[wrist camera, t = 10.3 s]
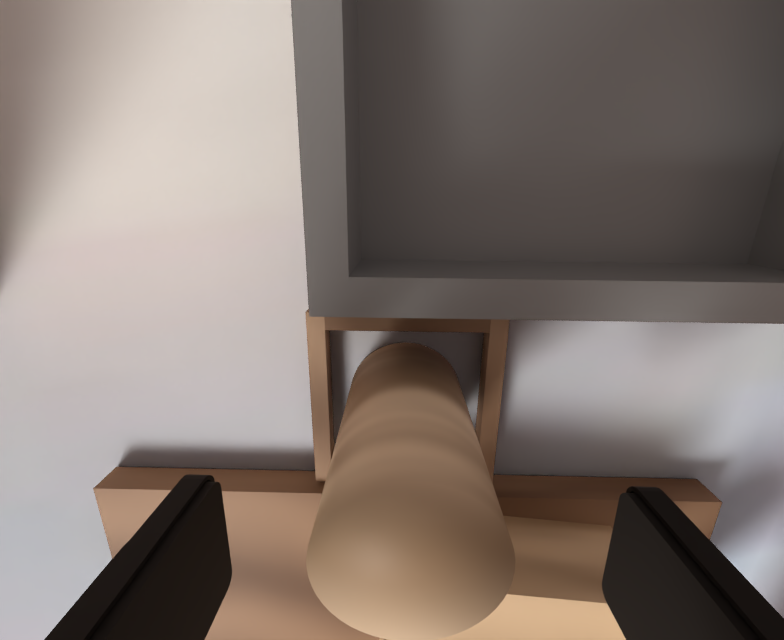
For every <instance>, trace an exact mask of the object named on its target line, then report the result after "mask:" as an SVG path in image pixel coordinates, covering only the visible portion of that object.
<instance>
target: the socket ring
mask: <svg viewBox="0 0 784 640" xmlns="http://www.w3.org/2000/svg"><path fill="white" fill-rule="evenodd" d="M509 322H510V320H501V319H434V318H366V317H309V309H308V310H307V311H306V326H307V343H308V359H309V376H310V392H311V409H312V426H313V442H314V459H315V475H316V481H326V477H327V473H328V470H329V466H330V462H331V459H332V455H333V451H334V425H333V401H332V377H331V353H330V330H350V331H416V332H481V333H484V337H483V349H482V361H481V372H480V384H479V395H478V407H477V418H476V430H475V432H476V435H477V438H478V441H479V444H480V447H481V450H482V453H483V456H484V459H485V462H486V466H487V469H488V472H489V475H490V478H491V481H493V472H494V463H495V453H496V444H497V434H498V425H499V416H500V406H501V397H502V388H503V378H504V369H505V359H506V350H507V341H508V331H509Z"/></svg>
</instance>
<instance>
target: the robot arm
mask: <svg viewBox="0 0 784 640" xmlns="http://www.w3.org/2000/svg"><path fill="white" fill-rule="evenodd" d="M231 578H232V564H231V557H230V549H229V542H228V534H227V527H226V519H225V512H224V504H223V496H222V489H221V484H220V483H219V482H215V480H214V477H213V476H212V475H195V474H187V475H184V476H183V477H182V478H181V479H180V481H179V482H178V483H177V484H176V485H175V487H174V488H173V489H172V490H171V491H170V492H169V494H168V495H167V496H166V497H165V498H164V500H163V501H162V502H161V503H160V504H159V506H158V507H157V508H156V509H155V510H154V512H153V513H152V514H151V515H150V516H149V517H148V519H147V520H146V521H145V522H144V523H143V525H142V526H141V527H140V528H139V529H138V531H137V532H136V533H135V534H134V535H133V537H132V538H131V539H130V540H129V541H128V542H127V543H126V544H125V545H124V546H123V547H122V548H121V549H120V551H119V552H118V553H117V554H116V555H115V557H114V558H113V559H112V560H111V561H110V562H109V564H108V565H107V566H106V567H105V568H104V570H103V571H102V572H101V573H100V574H99V576H98V577H97V578H96V579H95V580H94V581H93V583H92V584H91V585H90V586H89V587H88V589H87V590H86V591H85V592H84V593H83V594H82V596H81V597H80V598H79V599H78V600H77V602H76V603H75V604H74V605H73V606H72V608H71V609H70V610H69V611H68V612H67V613H66V615H65V616H64V617H63V618H62V619H61V621H60V622H59V623H58V624H57V625H56V627H55V628H54V629H53V630H52V631H51V632H50V634H49V635H48V636H47V637H46V638H45V640H205V638H206V636H207V634H208V631H209V629H210V627H211V625H212V623H213V621H214V619H215V616H216V614H217V612H218V610H219V608H220V606H221V604H222V601H223V599H224V597H225V595H226V593H227V591H228V588H229V586H230V582H231ZM602 590H603V595H604V598H605V600H606V602H607V604H608V606H609V608H610V610H611V612H612V614H613V616H614V618H615V620H616V621H617V623H618V625H619V627H620V629H621V631H622V633H623V635H624V637H625V638H626V640H784V618H783V617H782V616H781V615H780V614H779V613H778V612H777V611H776V610H775V609H774V608H773V607H772V606H771V605H770V604H769V603H768V602H767V600H766V599H765V598H764V597H763V596H762V595H761V594H760V593H759V592H758V591H757V590H756V589H755V588H754V587H753V586H752V585H751V584H750V582H749V581H748V580H747V579H746V578H745V577H744V576H743V575H742V574H741V573H740V572H739V571H738V570H737V569H736V568H735V567H734V566H733V564H732V563H731V562H730V561H729V560H728V559H727V558H726V557H725V556H724V555H723V554H722V553H721V552H720V551H719V550H718V549H717V548H716V546H715V545H714V544H713V543H712V542H711V541H710V540H709V539H708V538H707V537H706V536H705V535H704V534H703V533H702V532H701V531H700V530H699V528H698V527H697V526H696V525H695V524H694V523H693V522H692V521H691V520H690V519H689V518H688V517H687V516H686V515H685V514H684V513H683V512H682V510H681V509H680V508H679V507H678V506H677V505H676V504H675V503H674V502H673V501H672V500H671V499H670V498H669V497H668V496H667V495H666V494H665V492H664V491H662V490H661V489H660V488H658V487H643V486H631V487H629V488H628V489H627V490H626V493H622V494H621V495H620V497H619V501H618V506H617V511H616V516H615V521H614V526H613V530H612V535H611V540H610V545H609V550H608V555H607V559H606V564H605V569H604V574H603V579H602Z"/></svg>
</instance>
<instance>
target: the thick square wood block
mask: <svg viewBox="0 0 784 640" xmlns="http://www.w3.org/2000/svg"><path fill="white" fill-rule="evenodd" d="M503 517H504V520H505V523H506V526H507V529H508V532H509V535H510V538H511V541H512V544H513V547H514V552H515V573H514V577H513V581H512V584H511V586H510V589H509V591H508V593H507V594H506V596H505V598H504V599H503V601H502V602H501V603H500V604H499V606H498V607H497V608H496V609H495V610H494V611H493V612H492V613H491V614H490V615H489V616H488V617H486V618H485V619H484V620H482V621H481V622H479V623H478V624H476V625H474V626H473V627H471V628H469V629H467V630H465V631H462V632H460V633H458V634H455V635H451V636H448V637H445V638H440V639H435V640H626V638H625V637H624V635H623V633H622V631H621V629H620V627H619V625H618V623H617V621H616V620H615V618H614V616H613V614H612V612H611V610H610V608H609V606H608V604H607V602H606V600H605V598H604V595H603V590H602V579H603V574H604V569H605V564H606V559H607V555H608V550H609V545H610V540H611V535H612V530H613V529H612V528H611V526H606V525H595V524H585V523H574V522H564V521H553V520H543V519H532V518H522V517H511V516H503ZM379 640H389V639H383V638H380V639H379Z"/></svg>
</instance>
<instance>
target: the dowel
mask: <svg viewBox="0 0 784 640" xmlns="http://www.w3.org/2000/svg"><path fill="white" fill-rule="evenodd" d="M306 566H307V572H308V577H309V580H310V583H311V586H312V588H313V590H314V592H315V594H316V596H317V597H318V598H319V600H320V601H321V603H322V604H323V605H324V606H325V607H326V608H327V609H328V610H329V611H330V612H331V613H332V614H333V615H334V616H336V617H337V618H338V619H339V620H341V621H342V622H344V623H345V624H347V625H349V626H350V627H352V628H354V629H357V630H359V631H361V632H363V633H366V634H369V635H372V636H375V637H379V638H383V639H389V640H435V639H440V638H445V637H448V636H451V635H455V634H458V633H460V632H462V631H465V630H467V629H469V628H471V627H473V626H474V625H476V624H478V623H479V622H481V621H482V620H484V619H485V618H486V617H488V616H489V615H490V614H491V613H492V612H493V611H494V610H495V609H496V608H497V607H498V606H499V604H500V603H501V602H502V601H503V599H504V598H505V596H506V594H507V593H508V591H509V589H510V586H511V584H512V581H513V577H514V573H515V552H514V547H513V544H512V541H511V538H510V535H509V532H508V529H507V526H506V523H505V520H504V517H503V514H502V511H501V508H500V505H499V502H498V499H497V496H496V493H495V490H494V487H493V484H492V481H491V478H490V475H489V472H488V469H487V466H486V462H485V459H484V456H483V453H482V450H481V447H480V444H479V441H478V438H477V435H476V432H475V429H474V426H473V423H472V420H471V417H470V414H469V411H468V408H467V405H466V402H465V399H464V396H463V393H462V390H461V387H460V384H459V381H458V378H457V375H456V373H455V371H454V369H453V368H452V366H451V364H450V363H449V362H448V361H447V360H446V359H445V358H444V357H443V356H442V355H441V354H440V353H438V352H436V351H435V350H433V349H431V348H429V347H427V346H424V345H421V344H416V343H407V342H405V343H395V344H390V345H387V346H384V347H382V348H379V349H377V350H376V351H374V352H372V353H371V354H370V355H369V356H367V357H366V358H365V359H364V360H363V361H362V363H361V364H360V365H359V367H358V368H357V370H356V372H355V374H354V377H353V380H352V384H351V388H350V391H349V395H348V399H347V403H346V406H345V410H344V414H343V418H342V421H341V425H340V429H339V432H338V436H337V440H336V444H335V447H334V451H333V455H332V459H331V462H330V466H329V470H328V473H327V477H326V481H325V485H324V488H323V492H322V496H321V500H320V503H319V507H318V511H317V514H316V518H315V522H314V526H313V529H312V533H311V537H310V541H309V544H308V550H307V555H306Z"/></svg>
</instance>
